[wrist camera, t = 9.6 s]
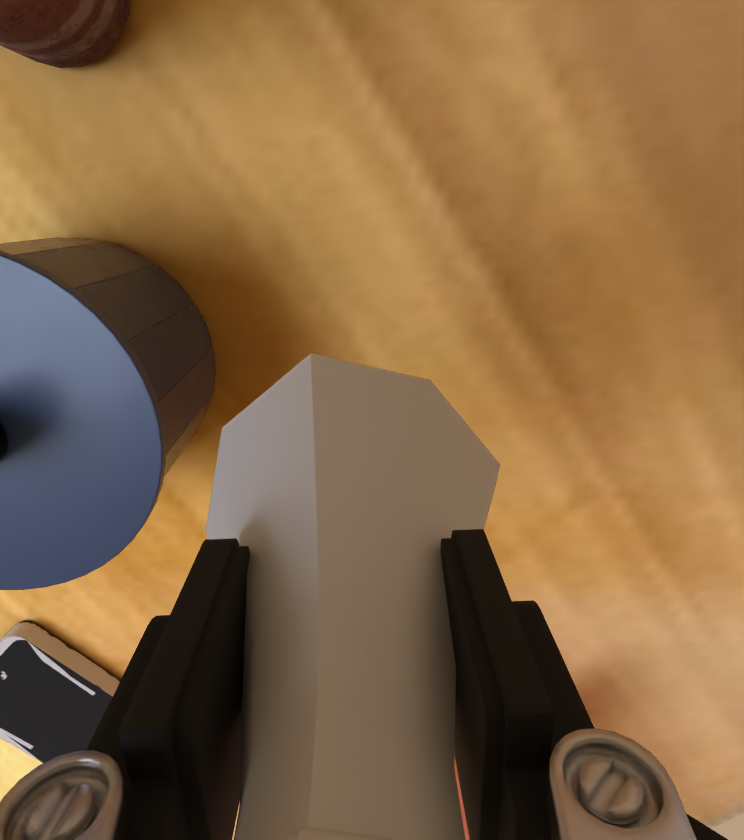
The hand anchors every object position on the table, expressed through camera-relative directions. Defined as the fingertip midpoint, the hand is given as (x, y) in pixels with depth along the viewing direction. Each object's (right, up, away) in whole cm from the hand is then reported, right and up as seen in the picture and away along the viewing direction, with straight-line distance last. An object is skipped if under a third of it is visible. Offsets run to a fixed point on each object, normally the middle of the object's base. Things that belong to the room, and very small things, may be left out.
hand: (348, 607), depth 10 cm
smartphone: (-18, -16, +27) cm, 36 cm away
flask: (0, +2, +5) cm, 5 cm away
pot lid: (-13, +3, +9) cm, 16 cm away
